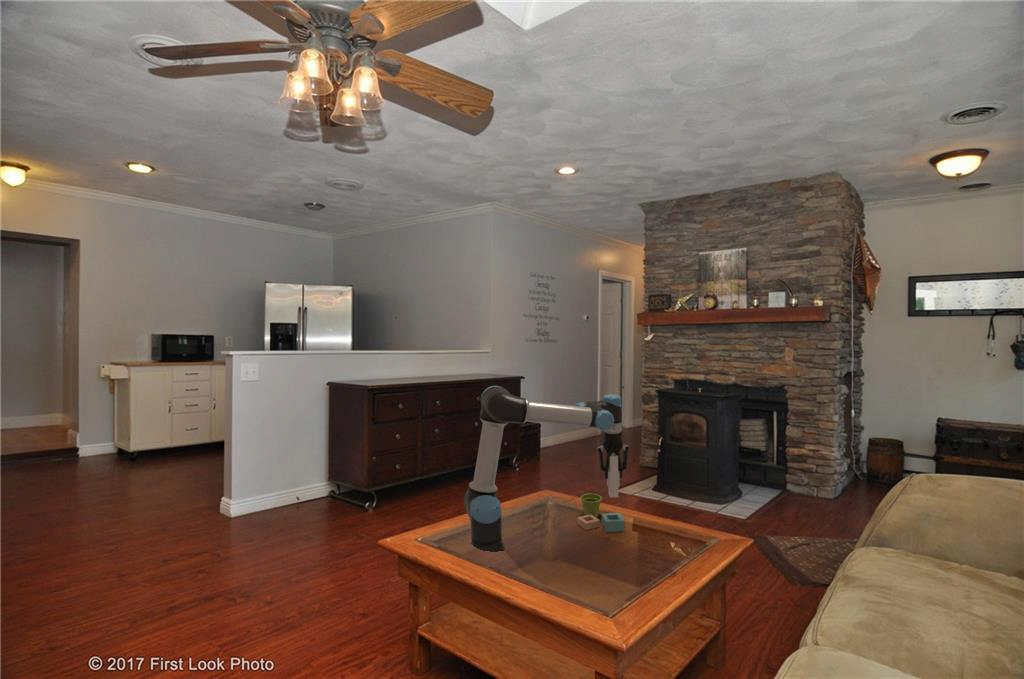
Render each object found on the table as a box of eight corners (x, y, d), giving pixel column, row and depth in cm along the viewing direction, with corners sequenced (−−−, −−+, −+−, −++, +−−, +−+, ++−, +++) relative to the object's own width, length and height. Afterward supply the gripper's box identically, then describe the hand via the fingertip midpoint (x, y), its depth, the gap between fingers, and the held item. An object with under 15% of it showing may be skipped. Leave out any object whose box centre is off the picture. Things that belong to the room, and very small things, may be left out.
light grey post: (610, 497, 234) (609, 452, 232) (608, 494, 237) (607, 450, 235) (618, 497, 234) (617, 452, 232) (616, 494, 238) (615, 449, 235)
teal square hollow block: (605, 532, 233) (605, 521, 233) (601, 523, 241) (601, 513, 241) (624, 531, 234) (624, 520, 233) (619, 522, 242) (619, 512, 241)
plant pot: (603, 520, 244) (603, 501, 243) (581, 521, 244) (581, 502, 243) (600, 511, 253) (600, 493, 252) (579, 512, 254) (579, 493, 253)
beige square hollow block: (585, 530, 235) (585, 523, 235) (577, 523, 242) (577, 517, 241) (599, 527, 238) (599, 520, 238) (591, 520, 244) (591, 514, 244)
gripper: (595, 435, 229) (595, 490, 231) (634, 433, 229) (634, 487, 232) (591, 430, 236) (592, 483, 239) (629, 428, 237) (630, 481, 240)
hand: (613, 485), depth 235 cm, fingers closed on light grey post, 3 cm apart
